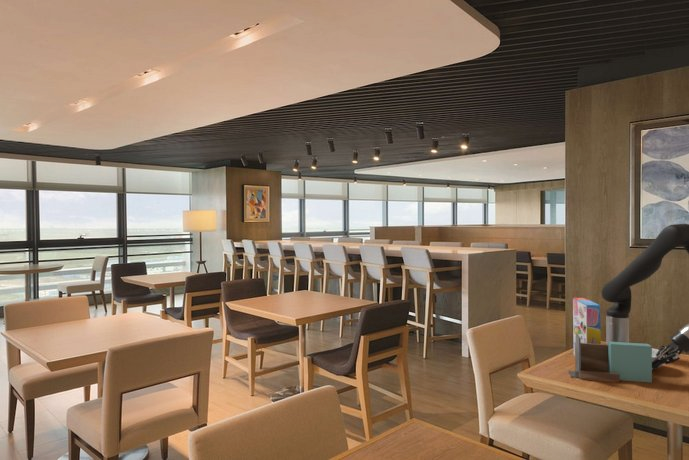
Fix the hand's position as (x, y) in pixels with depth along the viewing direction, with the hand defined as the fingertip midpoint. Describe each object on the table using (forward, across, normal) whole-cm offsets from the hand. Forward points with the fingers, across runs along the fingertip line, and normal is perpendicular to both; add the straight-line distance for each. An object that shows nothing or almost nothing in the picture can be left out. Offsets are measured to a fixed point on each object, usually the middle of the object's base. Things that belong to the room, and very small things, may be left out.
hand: (651, 367), depth 179 cm
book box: (+9, 0, -2) cm, 9 cm away
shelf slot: (+17, 0, -10) cm, 20 cm away
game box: (+17, -20, -10) cm, 28 cm away
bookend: (+23, 0, -16) cm, 28 cm away
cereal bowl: (+3, -18, +5) cm, 19 cm away
